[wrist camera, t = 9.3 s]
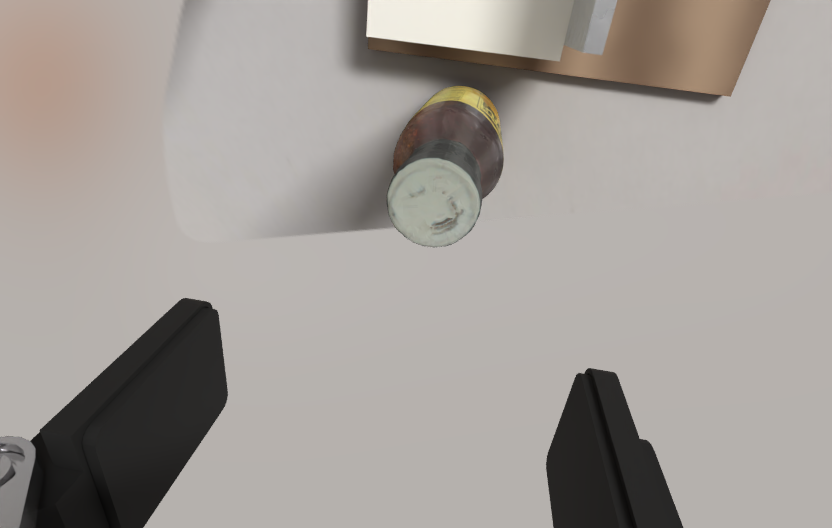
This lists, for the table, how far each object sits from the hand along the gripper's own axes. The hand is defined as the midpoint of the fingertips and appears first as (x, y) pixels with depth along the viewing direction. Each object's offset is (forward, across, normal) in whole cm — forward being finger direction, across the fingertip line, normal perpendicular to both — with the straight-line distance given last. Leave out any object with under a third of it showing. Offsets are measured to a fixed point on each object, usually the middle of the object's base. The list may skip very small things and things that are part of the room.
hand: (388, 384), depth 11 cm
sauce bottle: (+30, 0, 0) cm, 30 cm away
